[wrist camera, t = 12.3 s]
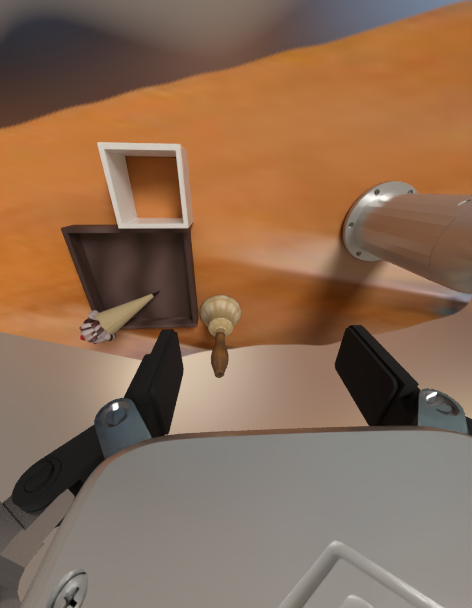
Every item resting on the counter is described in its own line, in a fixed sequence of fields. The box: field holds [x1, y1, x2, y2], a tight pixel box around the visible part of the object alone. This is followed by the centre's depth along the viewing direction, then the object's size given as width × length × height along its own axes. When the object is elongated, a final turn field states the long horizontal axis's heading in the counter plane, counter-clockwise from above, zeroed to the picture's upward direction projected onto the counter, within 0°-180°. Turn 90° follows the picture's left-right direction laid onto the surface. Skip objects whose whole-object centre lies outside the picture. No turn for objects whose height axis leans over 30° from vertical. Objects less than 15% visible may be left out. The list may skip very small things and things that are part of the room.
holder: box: [97, 142, 193, 228], centre depth 29 cm, size 9×9×6 cm
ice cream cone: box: [79, 291, 160, 344], centre depth 37 cm, size 6×6×15 cm
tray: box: [61, 225, 198, 329], centre depth 36 cm, size 18×18×3 cm
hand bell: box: [200, 295, 241, 378], centre depth 36 cm, size 8×8×16 cm
